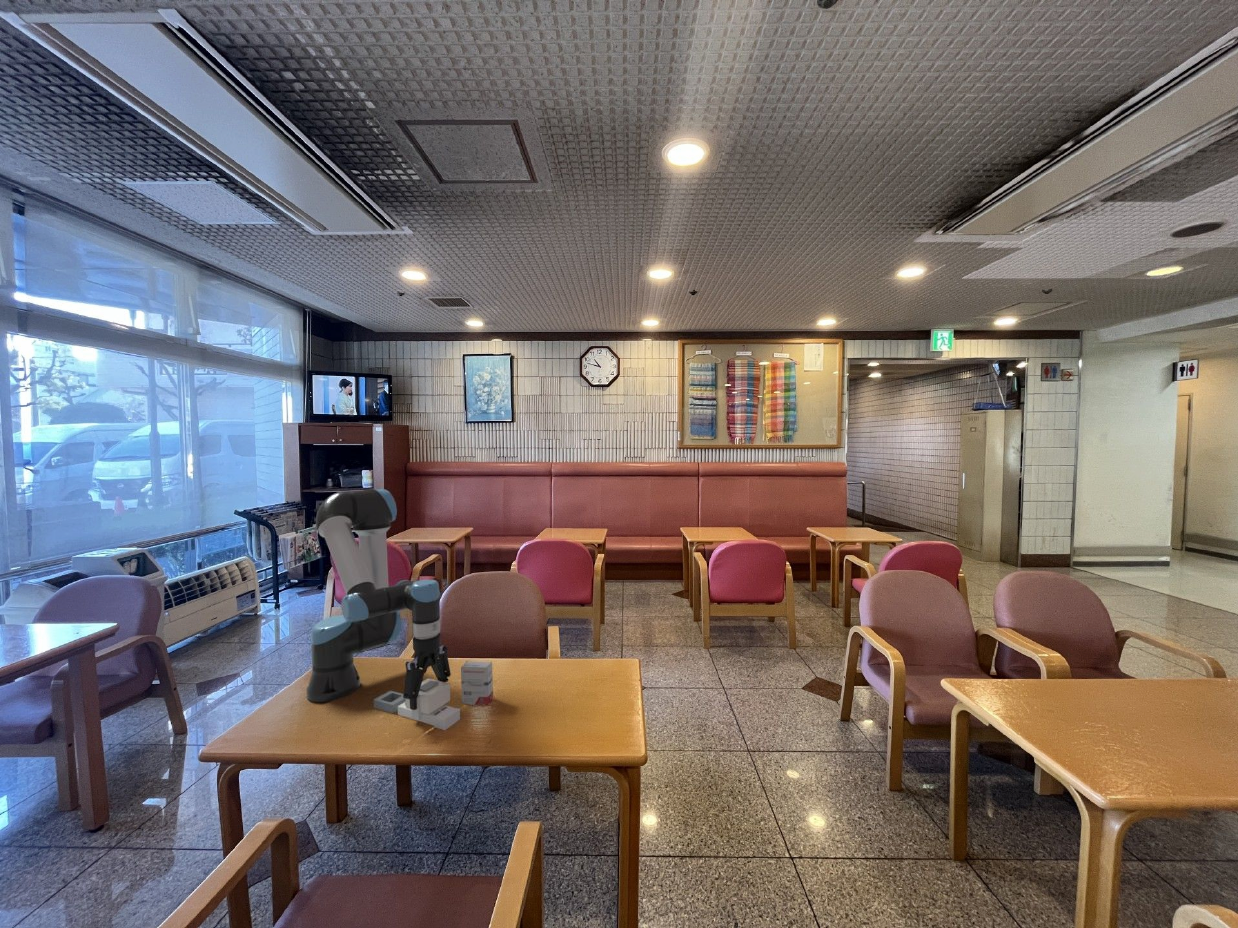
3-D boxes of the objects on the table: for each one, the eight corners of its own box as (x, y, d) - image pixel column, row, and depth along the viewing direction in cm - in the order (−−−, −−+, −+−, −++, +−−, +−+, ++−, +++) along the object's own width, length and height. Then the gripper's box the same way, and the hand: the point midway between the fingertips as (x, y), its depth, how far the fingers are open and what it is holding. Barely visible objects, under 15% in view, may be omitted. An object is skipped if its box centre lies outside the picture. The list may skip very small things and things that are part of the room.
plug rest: (373, 709, 149) (373, 699, 149) (390, 699, 155) (390, 690, 155) (393, 714, 146) (392, 704, 146) (409, 705, 151) (409, 695, 151)
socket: (398, 716, 145) (397, 704, 145) (414, 706, 151) (413, 694, 150) (444, 730, 138) (444, 717, 138) (460, 719, 143) (459, 706, 143)
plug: (406, 716, 142) (405, 688, 142) (428, 702, 150) (428, 676, 149) (428, 723, 138) (427, 694, 138) (450, 708, 146) (449, 681, 146)
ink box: (494, 697, 155) (493, 660, 155) (488, 705, 151) (487, 667, 150) (467, 696, 156) (466, 659, 156) (461, 704, 151) (460, 666, 151)
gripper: (406, 650, 132) (409, 733, 133) (462, 624, 151) (464, 696, 152) (386, 646, 135) (389, 727, 136) (443, 620, 155) (445, 691, 155)
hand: (428, 710), depth 144 cm, fingers closed on plug, 8 cm apart
